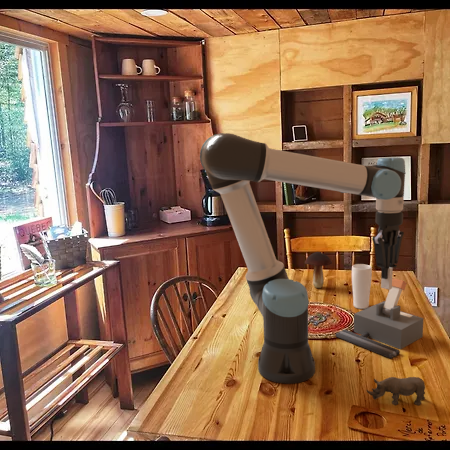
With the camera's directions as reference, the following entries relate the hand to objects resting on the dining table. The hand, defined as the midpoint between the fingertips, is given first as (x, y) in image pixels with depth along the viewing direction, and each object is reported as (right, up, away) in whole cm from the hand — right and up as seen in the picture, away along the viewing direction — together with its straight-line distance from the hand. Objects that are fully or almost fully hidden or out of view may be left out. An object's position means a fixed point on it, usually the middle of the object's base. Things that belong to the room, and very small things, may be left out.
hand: (386, 288), depth 134 cm
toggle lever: (+1, -7, +2) cm, 8 cm away
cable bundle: (-6, -16, -2) cm, 17 cm away
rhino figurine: (-9, -22, -31) cm, 39 cm away
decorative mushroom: (-10, -7, +48) cm, 49 cm away
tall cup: (0, -11, +26) cm, 28 cm away
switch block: (+2, -15, +3) cm, 15 cm away
